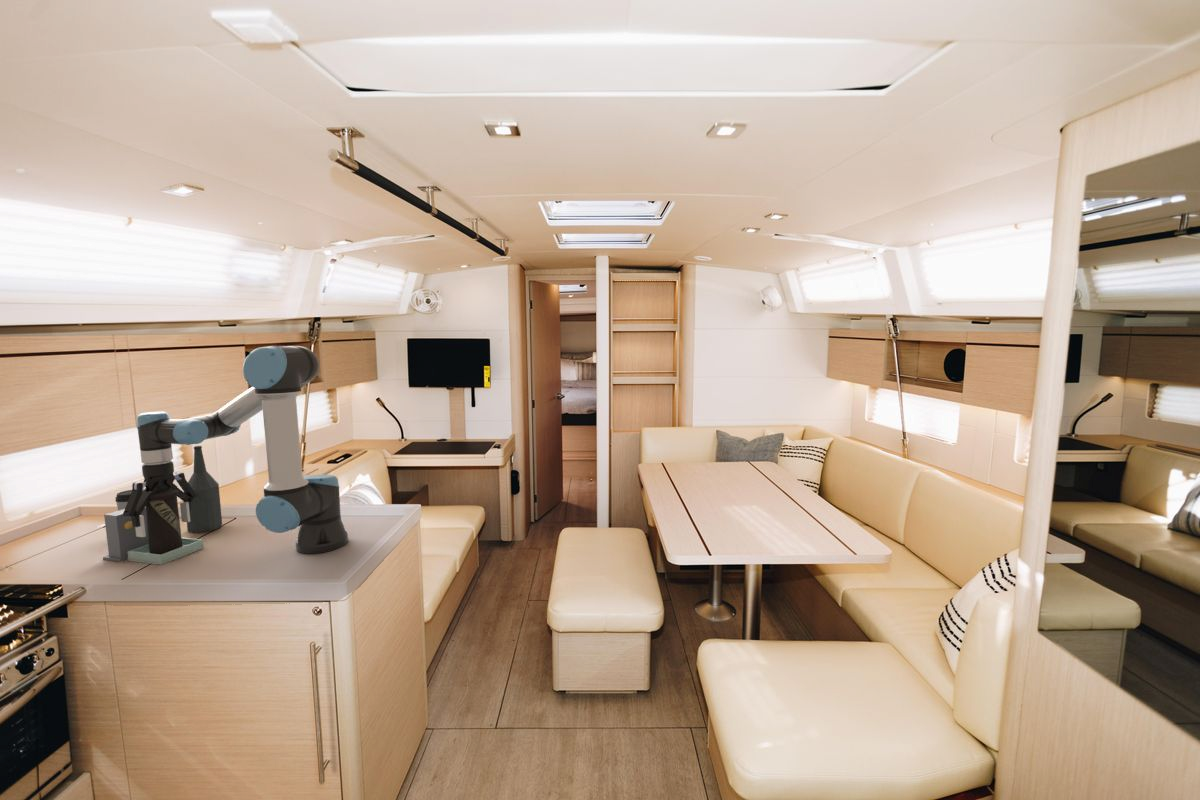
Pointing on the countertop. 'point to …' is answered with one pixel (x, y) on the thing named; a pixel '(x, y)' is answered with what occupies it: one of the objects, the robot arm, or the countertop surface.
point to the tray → (145, 556)
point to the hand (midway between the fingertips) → (164, 528)
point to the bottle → (204, 498)
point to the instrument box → (122, 535)
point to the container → (163, 522)
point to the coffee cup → (123, 499)
